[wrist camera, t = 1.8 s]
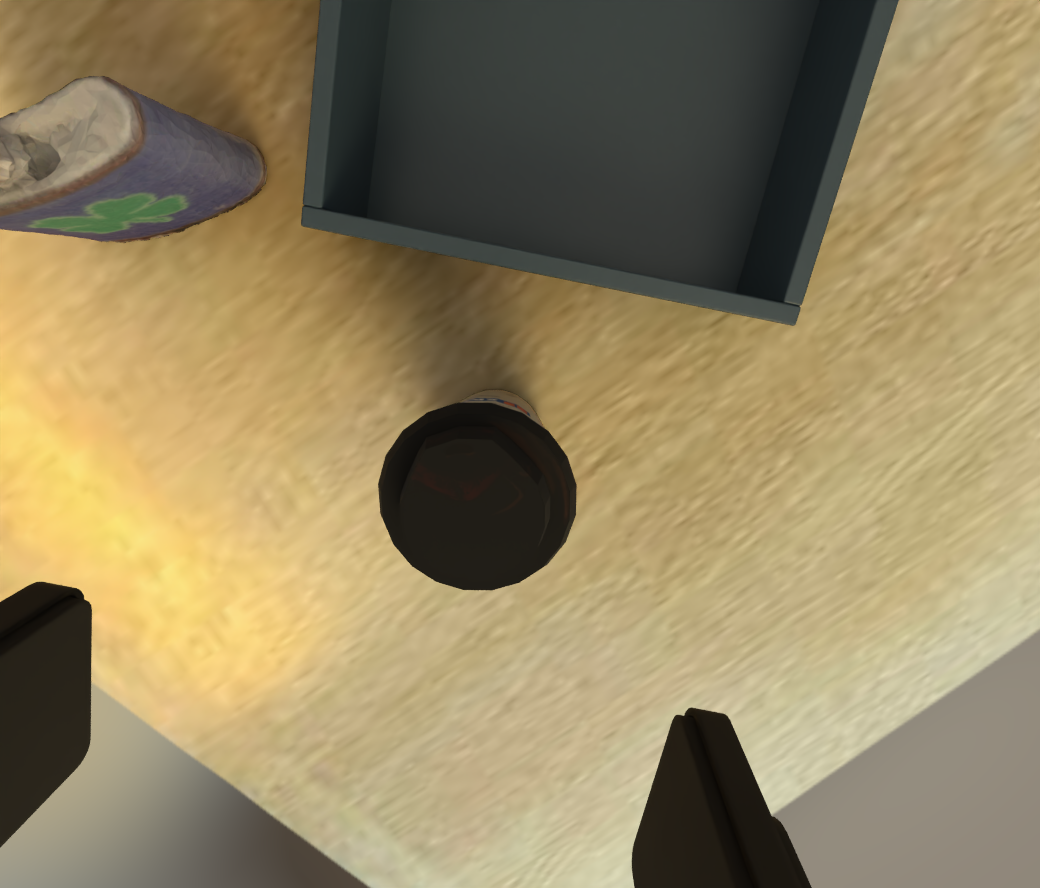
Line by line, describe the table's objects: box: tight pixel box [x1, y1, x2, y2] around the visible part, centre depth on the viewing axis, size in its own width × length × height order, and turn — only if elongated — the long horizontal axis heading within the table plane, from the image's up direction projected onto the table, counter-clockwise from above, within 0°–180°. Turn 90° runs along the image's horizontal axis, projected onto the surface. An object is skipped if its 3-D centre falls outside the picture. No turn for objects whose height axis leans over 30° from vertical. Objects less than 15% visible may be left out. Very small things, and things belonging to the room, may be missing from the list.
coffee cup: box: [378, 390, 576, 590], centre depth 24 cm, size 7×7×10 cm
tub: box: [301, 0, 899, 326], centre depth 22 cm, size 16×18×6 cm
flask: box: [0, 76, 267, 243], centre depth 21 cm, size 9×3×11 cm, turn 105°
